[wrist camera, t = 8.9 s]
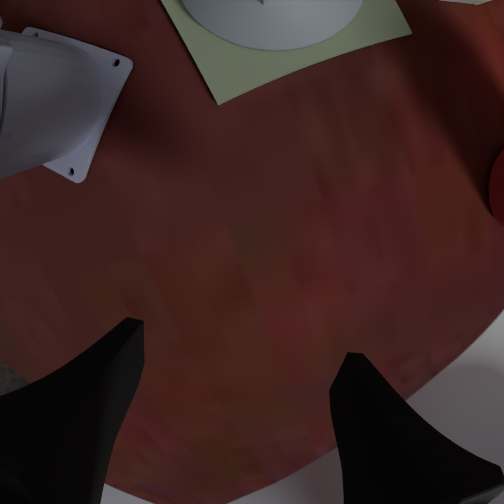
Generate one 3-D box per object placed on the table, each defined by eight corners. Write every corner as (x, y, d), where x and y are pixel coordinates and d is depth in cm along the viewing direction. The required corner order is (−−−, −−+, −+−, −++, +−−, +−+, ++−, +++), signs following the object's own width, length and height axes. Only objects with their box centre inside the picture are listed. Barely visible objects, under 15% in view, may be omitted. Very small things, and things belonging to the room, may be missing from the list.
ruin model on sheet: (62, 401, 27) (29, 469, 18) (57, 410, 28) (25, 475, 19) (-16, 337, 24) (-63, 394, 16) (-18, 351, 25) (-60, 405, 16)
